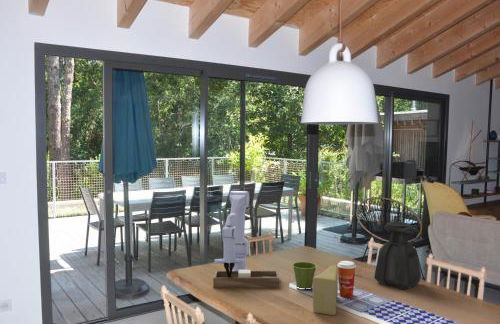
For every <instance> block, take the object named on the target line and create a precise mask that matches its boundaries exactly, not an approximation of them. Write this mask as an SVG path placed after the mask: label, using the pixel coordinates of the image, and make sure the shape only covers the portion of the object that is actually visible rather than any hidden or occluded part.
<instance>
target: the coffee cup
mask: <svg viewBox="0 0 500 324" xmlns="http://www.w3.org/2000/svg"><path fill="white" fill-rule="evenodd" d="M336 266H337V276H338V287H339V289H338V290H339V291H338V293H339V296H340V295H341V296H340V297H342V296H343V297H342V298H346V297H350V298H352V296H353V297H354V290H355V289H354V288H355V285H354V284H355V273H356V271H355V270H356V268H357V265H356V264H355V262H353V261H350V260H340V261H339V262H338V263H337V265H336Z"/></svg>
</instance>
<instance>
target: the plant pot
mask: <svg viewBox="0 0 500 324" xmlns="http://www.w3.org/2000/svg"><path fill="white" fill-rule="evenodd" d="M292 267H293V271H294V277H295V284H296V288H297V287H299V288H305V289H306V288H311V287H312V288H313V278H314V277H315V272H316V270H317V267H318V265H317V264H316V263H314V262H309V261H298V262H297V261H296V262H293V263H292ZM312 288H311V289H312Z"/></svg>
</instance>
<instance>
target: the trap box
mask: <svg viewBox="0 0 500 324" xmlns="http://www.w3.org/2000/svg"><path fill="white" fill-rule="evenodd" d="M229 273H230V270H229ZM212 278H213V279H212V281H213V282H212V283H213V284H212V285H213V288H280V274H279V270H251V278H238V271H232V273H231V278H228V276H227V272H226V270H215V271H214V275H213V277H212Z"/></svg>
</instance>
